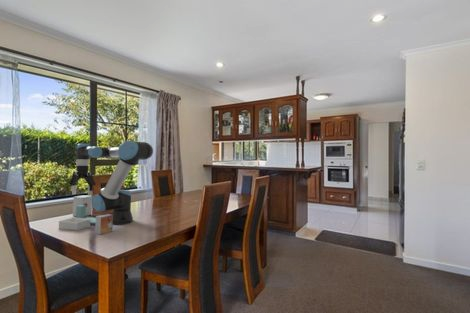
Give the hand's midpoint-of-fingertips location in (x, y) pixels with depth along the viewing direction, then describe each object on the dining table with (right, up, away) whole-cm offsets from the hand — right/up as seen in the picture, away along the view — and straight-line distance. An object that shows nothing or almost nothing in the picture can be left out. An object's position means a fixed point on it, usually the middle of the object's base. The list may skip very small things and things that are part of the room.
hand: (81, 195), depth 174 cm
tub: (+5, -19, -16) cm, 25 cm away
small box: (+28, -20, -23) cm, 41 cm away
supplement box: (-10, -19, +16) cm, 27 cm away
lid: (+6, -19, -2) cm, 20 cm away
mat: (+8, -19, -2) cm, 21 cm away
